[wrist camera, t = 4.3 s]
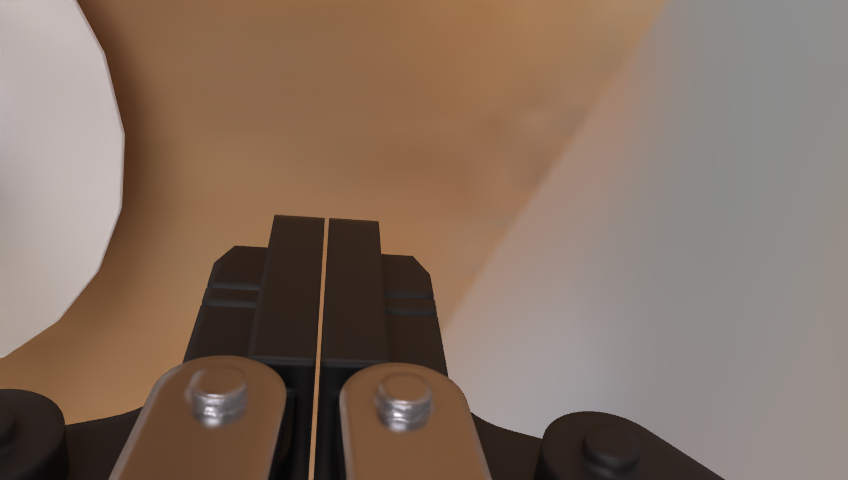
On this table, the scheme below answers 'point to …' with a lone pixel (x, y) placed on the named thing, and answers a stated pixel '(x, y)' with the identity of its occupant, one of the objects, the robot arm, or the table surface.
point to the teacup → (53, 163)
